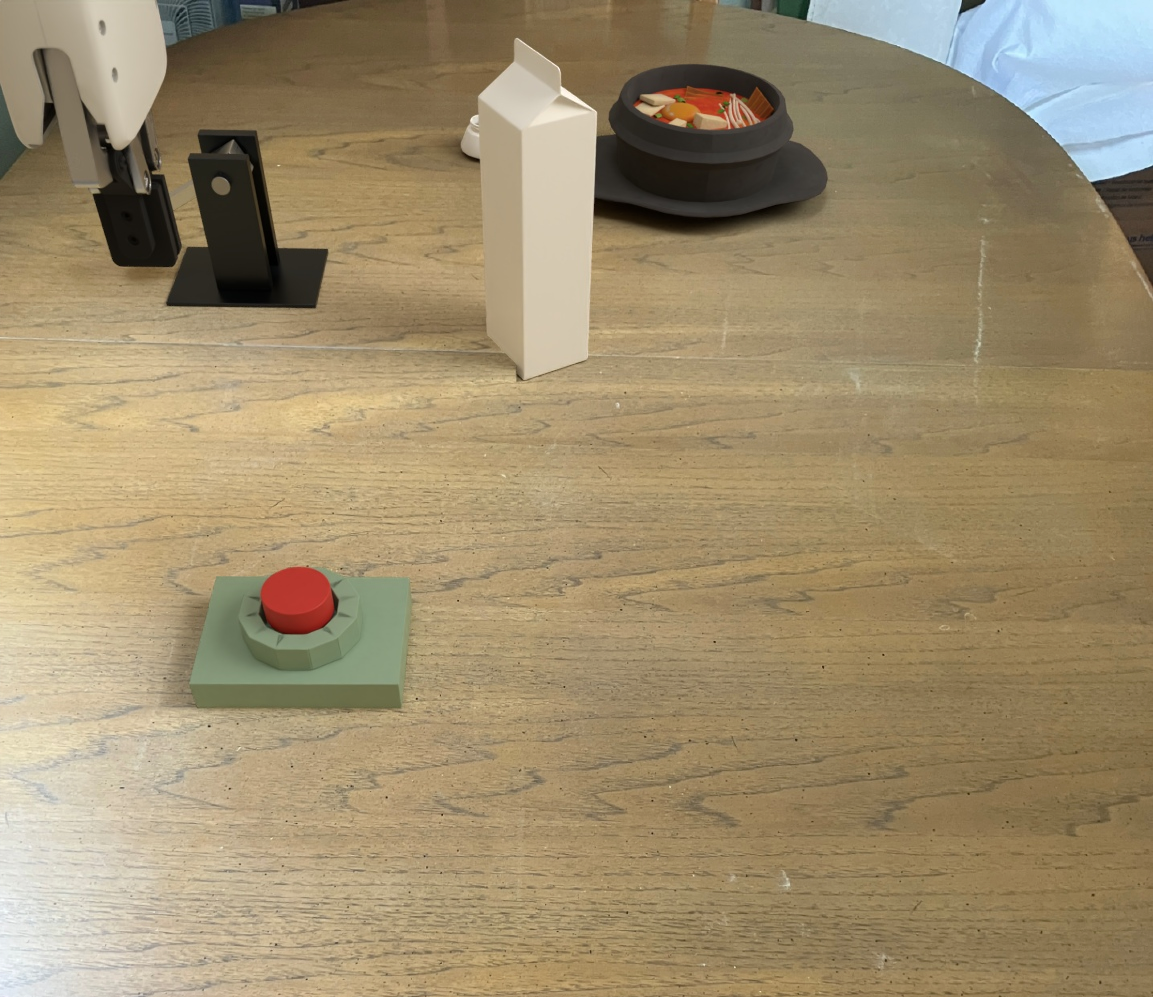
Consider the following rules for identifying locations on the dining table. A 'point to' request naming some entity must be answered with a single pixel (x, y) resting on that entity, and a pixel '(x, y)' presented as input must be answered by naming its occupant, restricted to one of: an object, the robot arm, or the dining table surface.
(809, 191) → the casserole
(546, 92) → the milk
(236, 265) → the bracket
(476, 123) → the lidless jar
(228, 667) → the button block
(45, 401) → the dining table surface
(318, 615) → the button
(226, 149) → the tap lever
